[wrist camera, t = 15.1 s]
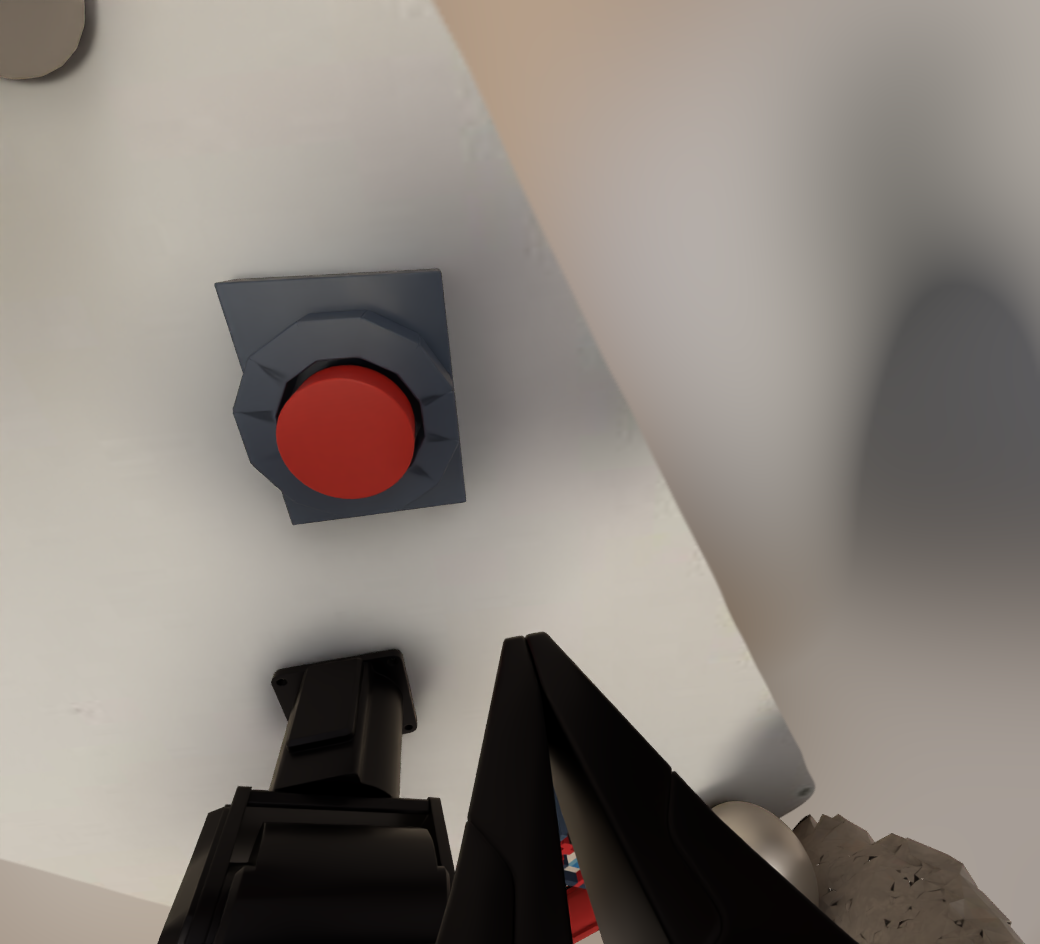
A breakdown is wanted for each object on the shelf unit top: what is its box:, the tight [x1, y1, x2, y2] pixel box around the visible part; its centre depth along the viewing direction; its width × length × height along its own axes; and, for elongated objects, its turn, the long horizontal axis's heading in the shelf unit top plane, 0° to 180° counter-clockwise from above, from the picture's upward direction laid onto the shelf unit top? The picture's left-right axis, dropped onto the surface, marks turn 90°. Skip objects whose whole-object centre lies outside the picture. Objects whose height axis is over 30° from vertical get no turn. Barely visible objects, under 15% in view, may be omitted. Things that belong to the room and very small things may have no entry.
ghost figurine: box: [711, 801, 819, 907], centre depth 35 cm, size 9×9×10 cm
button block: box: [215, 269, 466, 525], centre depth 16 cm, size 9×7×4 cm
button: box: [276, 365, 415, 499], centre depth 14 cm, size 4×4×2 cm
